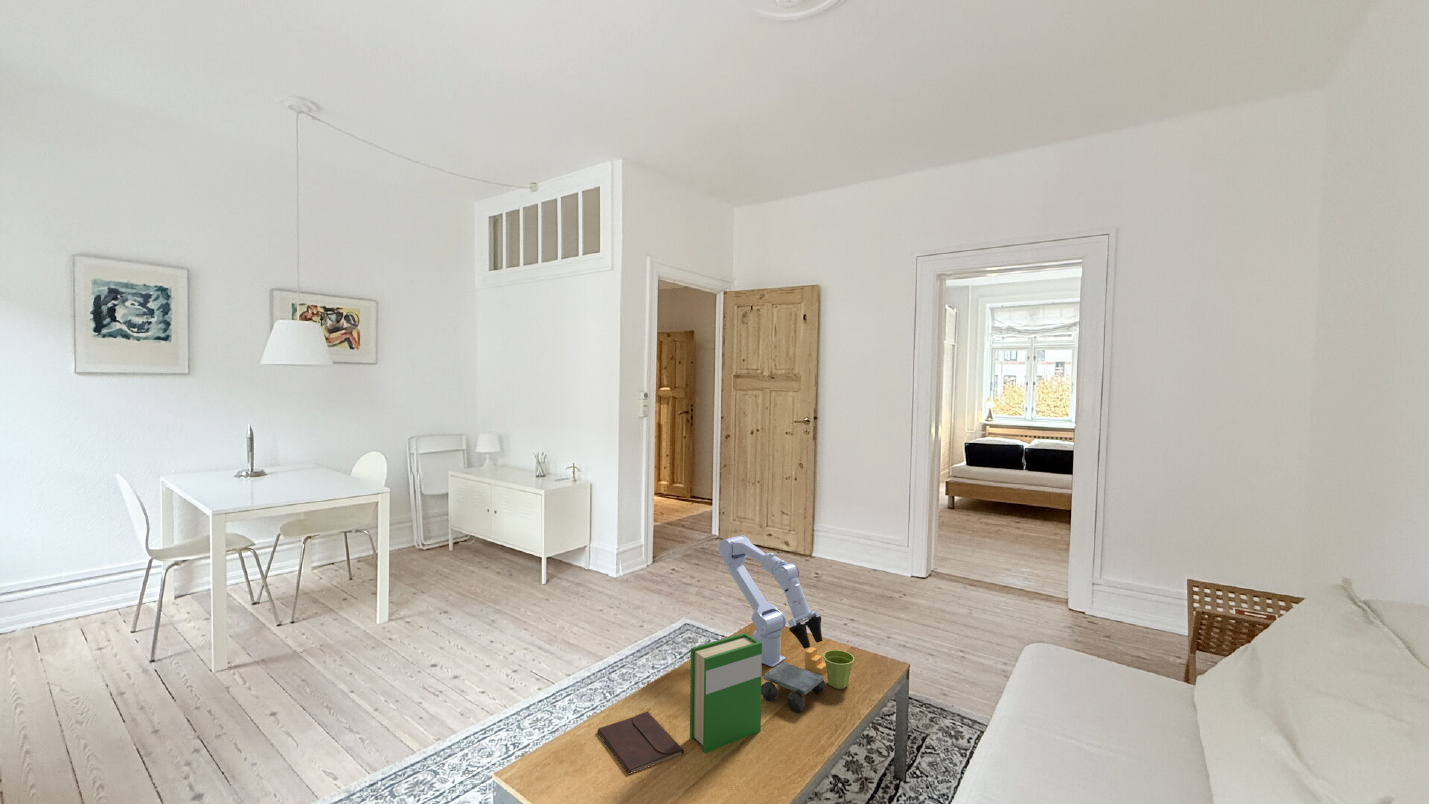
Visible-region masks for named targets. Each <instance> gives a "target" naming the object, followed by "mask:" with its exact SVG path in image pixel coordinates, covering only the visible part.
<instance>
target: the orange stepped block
mask: <svg viewBox="0 0 1429 804" xmlns="http://www.w3.org/2000/svg"><path fill="white" fill-rule="evenodd" d="M804 653H805V654H804V669H805V670H808V671H809V670H810V671H811V672H814V673H816V674H818V673H819V675H822V676H823V674H824V673H826V672H827V671H826V670H827V669H826V663H825V662H823V655H822V656H821V655H820V654H818V653H817V648H815V647H813V646H810V647H809V648H807V649H806V650H805V651H804ZM825 671H826V672H825Z"/></svg>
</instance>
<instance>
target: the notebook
mask: <svg viewBox="0 0 1429 804" xmlns="http://www.w3.org/2000/svg"><path fill="white" fill-rule="evenodd" d="M597 734H598V735H599V737H600V738H601V737H602V738H601V739H602V740H603V742H604V741H605V742H604V743H605V745H606V744H607V745H606V746H607V747H608V749H609V748H610V749H611V750H610V749H609V750H610V751H611V753H612V752H613V753H614V754H615V755H614V754H613V753H612V754H613V755H614V757H615V756H616V757H617V758H616V757H615V758H616V759H617V761H618V760H619V761H620V762H619V761H618V762H619V764H620V765H621V764H622V765H623V766H624V767H623V766H622V765H621V766H622V767H623V769H624V768H625V769H626V770H627V772H628V773H631V772H634V771H637V770H639V771H641V770H640V769H642V770H644V769H643V768H645V767H647V768H649V767H648V766H650V767H652V766H651V765H653V764H655V765H657V764H656V763H658V764H661V763H663V762H665V760H666V761H668V760H670V758H671V759H673V758H672V757H674V758H676V757H678V755H679V756H681V755H680V754H682V755H684V753H685V751H684V748H682V746H681V745H680V744H679V743H678V742H677V740H675V739H674V738H673V737H672V736H671V735H670V734H669V733H668V731H667V730H666V729H665V728H664V726H662V725H661V723H659V722H658V721H657V720H656V719H655V717H653V715H652V714H651V713H650V712H649V711H644V712H641V713H639V714H636V715H635V716H632V717H629V718H626V719H623V720H620V721H616V722H614V723H611V724H607V725H604V726H601V727H599V728H598V729H597ZM660 762H661V763H660ZM653 766H654V765H653ZM625 769H624V770H625ZM645 769H646V768H645ZM626 770H625V771H626ZM627 772H626V773H627ZM637 772H638V771H637ZM628 773H627V774H628ZM634 773H635V772H634Z"/></svg>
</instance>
